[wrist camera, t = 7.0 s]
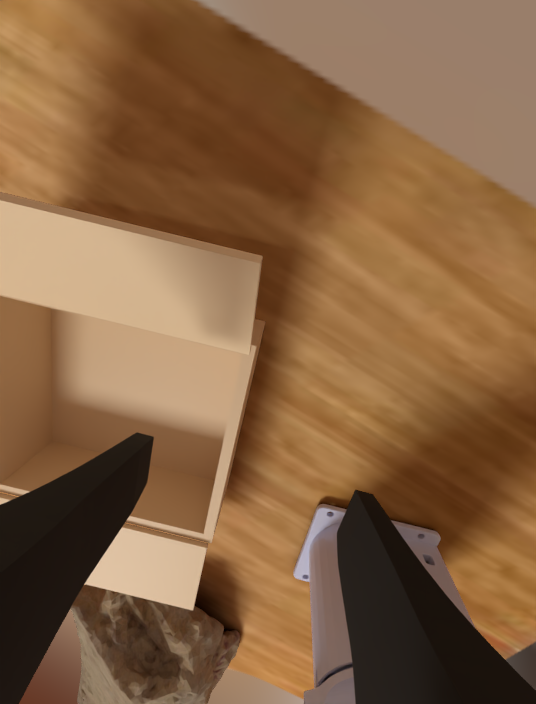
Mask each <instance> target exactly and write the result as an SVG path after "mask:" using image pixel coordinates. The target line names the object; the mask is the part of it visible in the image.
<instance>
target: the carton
mask: <svg viewBox="0 0 536 704" xmlns="http://www.w3.org/2000/svg"><path fill="white" fill-rule="evenodd" d="M265 322H266V321H262V320H258V319H255V321H254V329H253V337H252V345H251V351H250V354H249V355H247V354H243V353H239V352H235V351H230V350H226V349H222V348H218V347H214V346H210V345H206V344H202V343H198V342H194V341H189V340H185V339H181V338H177V337H173V336H169V335H165V334H161V333H157V332H153V331H148V330H144V329H140V328H136V327H132V326H128V325H124V324H120V323H116V322H112V321H107V320H103V319H99V318H95V317H91V316H87V315H83V314H79V313H75V312H71V311H66V310H62V309H58V308H54V307H50V306H46V305H42V304H38V303H34V302H30V301H25V300H21V299H17V298H13V297H9V296H5V295H1V294H0V492H4V493H8V494H12V495H16V496H21V495H24V494H26V493H28V492H30V491H33V490H35V489H37V488H39V487H41V486H43V485H45V484H47V483H49V482H51V481H53V480H55V479H57V478H58V477H60V476H62V475H64V474H66V473H68V472H70V471H72V470H74V469H76V468H77V467H79V466H81V465H83V464H84V463H86V462H88V461H90V460H91V459H93V458H95V457H96V456H98V455H100V454H102V453H103V452H105V451H107V450H108V449H110V448H112V447H113V446H115V445H117V444H118V443H120V442H121V441H123V440H125V439H126V438H128V437H130V436H131V435H133V434H135V433H137V432H138V433H142V434H145V435H149V436H153V437H154V440H153V447H152V454H151V461H150V468H149V475H148V481H147V484H146V486H145V488H144V490H143V492H142V494H141V496H140V498H139V500H138V502H137V504H136V506H135V508H134V509H133V511H132V513H131V514H130V516H129V517H128V519H127V520H126V522H127V523H131V524H135V525H139V526H143V527H147V528H151V529H155V530H159V531H163V532H168V533H172V534H176V535H180V536H184V537H188V538H192V539H196V540H200V541H204V542H209V543H212V540H213V536H214V532H215V529H216V525H217V522H218V518H219V514H220V511H221V507H222V504H223V500H224V496H225V493H226V489H227V486H228V482H229V477H230V473H231V469H232V464H233V460H234V456H235V451H236V447H237V443H238V439H239V434H240V430H241V426H242V421H243V417H244V413H245V408H246V404H247V400H248V396H249V391H250V387H251V383H252V378H253V374H254V370H255V365H256V361H257V357H258V353H259V348H260V344H261V340H262V335H263V331H264V327H265ZM15 498H17V497H15V496H11V495H7V494H3V493H0V505H1V504H3V503H5V502H8V501H10V500H12V499H15ZM159 531H154V530H150V529H146V528H142V527H138V526H134V525H130V524H126V523H125V524H124V525H123V527H122V528H121V530H120V531H119V533H118V534H117V536H116V537H115V539H114V540H113V542H112V543H111V545H110V546H109V548H108V549H107V551H106V552H105V554H104V555H103V557H102V558H101V560H100V561H99V563H98V564H97V566H96V567H95V569H94V570H93V572H92V573H91V575H90V576H89V578H88V579H87V581H86V582H85V584H86V585H90V586H94V587H99V588H103V589H107V590H111V591H115V592H119V593H123V594H127V595H131V596H135V597H139V598H144V599H148V600H152V601H156V602H160V603H164V604H168V605H172V606H176V607H180V608H184V609H189V610H193V608H194V604H195V600H196V596H197V591H198V587H199V582H200V578H201V573H202V569H203V564H204V560H205V555H206V551H207V546H208V543H204V542H199V541H195V540H191V539H187V538H183V537H179V536H175V535H171V534H167V533H163V532H159Z"/></svg>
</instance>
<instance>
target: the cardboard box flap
mask: <svg viewBox="0 0 536 704" xmlns="http://www.w3.org/2000/svg"><path fill="white" fill-rule="evenodd" d="M262 259H263V256H261V255H257V254H253V253H248V252H244V251H240V250H236V249H232V248H228V247H224V246H220V245H216V244H212V243H207V242H203V241H199V240H195V239H191V238H187V237H183V236H179V235H175V234H171V233H166V232H162V231H158V230H154V229H150V228H146V227H142V226H138V225H134V224H130V223H125V222H121V221H117V220H113V219H109V218H105V217H101V216H97V215H93V214H88V213H84V212H80V211H76V210H72V209H68V208H64V207H60V206H56V205H52V204H47V203H43V202H39V201H35V200H31V199H27V198H23V197H19V196H15V195H11V194H6V193H2V192H0V294H1V295H5V296H9V297H13V298H17V299H21V300H25V301H30V302H34V303H38V304H42V305H46V306H50V307H54V308H58V309H62V310H66V311H71V312H75V313H79V314H83V315H87V316H91V317H95V318H99V319H103V320H107V321H112V322H116V323H120V324H124V325H128V326H132V327H136V328H140V329H144V330H148V331H153V332H157V333H161V334H165V335H169V336H173V337H177V338H181V339H185V340H189V341H194V342H198V343H202V344H206V345H210V346H214V347H218V348H222V349H226V350H230V351H235V352H239V353H243V354H247V355H249V354H250V351H251V345H252V337H253V329H254V321H255V314H256V306H257V298H258V290H259V283H260V275H261V267H262Z"/></svg>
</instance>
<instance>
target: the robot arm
mask: <svg viewBox="0 0 536 704" xmlns="http://www.w3.org/2000/svg"><path fill="white" fill-rule="evenodd" d="M153 440H154V437H153V436H149V435H145V434H142V433H138V432H137V433H135V434H133V435H131V436H130V437H128V438H126V439H125V440H123V441H121V442H120V443H118V444H117V445H115V446H113V447H112V448H110V449H108V450H107V451H105V452H103V453H102V454H100V455H98V456H96V457H95V458H93V459H91V460H90V461H88V462H86V463H84V464H83V465H81V466H79V467H77V468H76V469H74V470H72V471H70V472H68V473H66V474H64V475H62V476H60V477H58V478H57V479H55V480H53V481H51V482H49V483H47V484H45V485H43V486H41V487H39V488H37V489H35V490H33V491H30V492H28V493H26V494H24V495H21V496H19V497H17V498H15V499H12V500H10V501H8V502H5V503H3V504H1V505H0V704H19V702H20V700H21V698H22V697H23V695H24V693H25V691H26V689H27V687H28V685H29V683H30V681H31V679H32V677H33V675H34V674H35V672H36V670H37V668H38V666H39V664H40V663H41V661H42V659H43V657H44V655H45V653H46V651H47V650H48V648H49V646H50V644H51V642H52V640H53V639H54V637H55V635H56V633H57V631H58V629H59V627H60V626H61V624H62V622H63V620H64V619H65V617H66V615H67V613H68V612H69V610H70V608H71V606H72V604H73V603H74V601H75V599H76V597H77V595H78V594H79V592H80V591H81V589H82V587H83V586H84V584H85V582H86V581H87V579H88V578H89V576H90V575H91V573H92V572H93V570H94V569H95V567H96V566H97V564H98V563H99V561H100V560H101V558H102V557H103V555H104V554H105V552H106V551H107V549H108V548H109V546H110V545H111V543H112V542H113V540H114V539H115V537H116V536H117V534H118V533H119V531H120V530H121V528H122V527H123V525H124V524H125V522H126V520H127V519H128V517H129V516H130V514H131V513H132V511H133V509H134V508H135V506H136V504H137V502H138V500H139V498H140V496H141V494H142V492H143V490H144V488H145V486H146V484H147V481H148V475H149V468H150V461H151V454H152V447H153ZM328 512H331V513H328ZM440 540H441V538H440V535H439V533H438V532H436V531H433V530H429V529H425V528H421V527H417V526H413V525H409V524H405V523H401V522H397V521H392V520H390V518H389V517H388V516H387V514H386V513H385V511H384V510H383V508H382V507H381V505H380V504H379V503H378V501H377V500H376V498H375V497H374V496H373V494H369V493H366V492H362V491H358V490H355V492H354V494H353V497H352V499H351V501H350V503H349V506H348V508H347V509H343V508H339V507H335V506H331V505H327V504H320V505H318V507H317V509H316V511H315V514H314V517H313V519H312V522H311V525H310V528H309V530H308V533H307V536H306V538H305V541H304V544H303V546H302V549H301V552H300V555H299V557H298V560H297V563H296V565H295V568H294V577H295V578H297V579H300V580H304V581H308V582H310V601H311V623H312V645H313V668H314V689H312V690H307V691H305V692H304V704H536V690H534V689H533V688H532V687H531V686H530V685H529V684H528V683H527V682H526V681H525V680H524V679H523V678H522V677H521V676H520V675H519V674H518V673H517V672H516V671H515V670H514V669H513V668H512V667H511V666H510V665H509V663H508V662H507V661H506V660H505V659H504V658H503V657H502V656H501V655H500V654H499V653H498V652H497V651H496V650H495V649H494V648H493V647H492V646H491V645H490V644H489V643H488V642H487V641H486V639H485V638H484V637H483V636H482V635H481V634H480V633H479V632H478V631H477V630H476V629H475V626H474V624H473V622H472V620H471V618H470V616H469V614H468V612H467V609H466V607H465V605H464V603H463V601H462V599H461V597H460V595H459V592H458V590H457V588H456V586H455V584H454V582H453V580H452V578H451V575H450V573H449V571H448V569H447V567H446V565H445V563H444V561H443V558H442V556H441V554H440V552H439V550H438V548H437V545H438V544H439V542H440Z"/></svg>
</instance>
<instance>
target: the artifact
mask: <svg viewBox="0 0 536 704" xmlns="http://www.w3.org/2000/svg"><path fill="white" fill-rule="evenodd" d="M70 609H71V610H72V612H73V616H74V619H75V623H76V627H77V630H78V636H79V638H80V643H81V661H82V665H81V669H82V670H81V680H80V686H79V692H78V699H77V702H78V704H207V703H208V701H209V698H210V694H211V692H212V690H213V689H214V688H215V686H216V684H217V683H218V681H219V680H220V679H221V677H222V675H223V673H224V671H225V670H226V668H227V667H228V665H229V663H230V661H231V660H232V659H233V658H234V657H235V655H236V652H237V649H238V647H239V642H240V634H239V633H238V631H236V630H232V631H226V632H224V633H223V631H224V626H223V625H222V624H221V623H220V622H219V621H217V620H216V619H215V618H213V617H210V616H208V615H207V614H206V613H205V612H204V611H203V610H201V609H199V608H197V607H196V606H194V608H193V610H189V609H184V608H180V607H176V606H172V605H168V604H164V603H160V602H156V601H152V600H148V599H144V598H139V597H135V596H131V595H127V594H123V593H119V592H115V591H111V590H107V589H103V588H99V587H94V586H90V585H84V586H83V587H82V589H81V591H80V592H79V594H78V595H77V597H76V599H75V601H74V603H73V604H72V606H71V608H70Z"/></svg>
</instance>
